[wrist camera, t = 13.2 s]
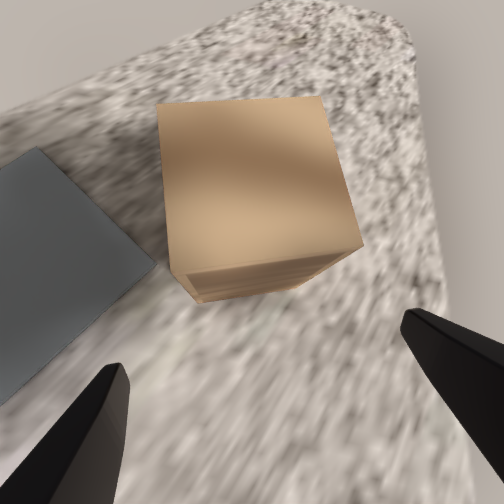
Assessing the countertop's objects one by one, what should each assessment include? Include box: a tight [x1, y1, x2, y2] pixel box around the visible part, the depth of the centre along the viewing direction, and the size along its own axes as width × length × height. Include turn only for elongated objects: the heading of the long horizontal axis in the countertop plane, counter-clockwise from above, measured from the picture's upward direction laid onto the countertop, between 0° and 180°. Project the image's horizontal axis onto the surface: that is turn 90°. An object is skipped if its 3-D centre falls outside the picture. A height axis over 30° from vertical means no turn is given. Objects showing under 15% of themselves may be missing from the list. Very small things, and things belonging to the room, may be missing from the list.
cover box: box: [156, 96, 364, 303], centre depth 15 cm, size 7×7×10 cm
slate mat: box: [0, 146, 156, 406], centre depth 18 cm, size 13×12×1 cm
